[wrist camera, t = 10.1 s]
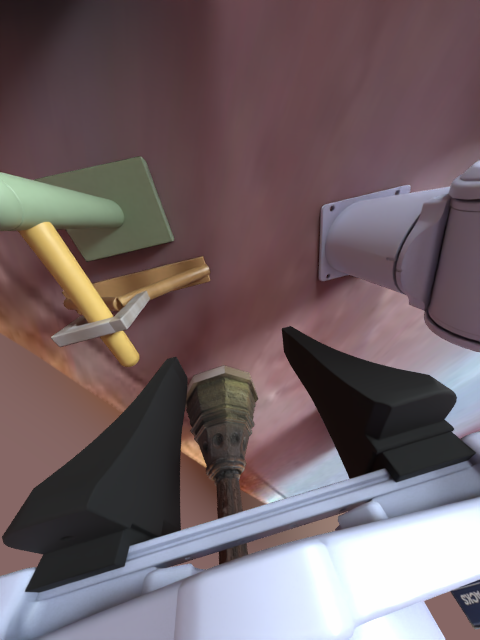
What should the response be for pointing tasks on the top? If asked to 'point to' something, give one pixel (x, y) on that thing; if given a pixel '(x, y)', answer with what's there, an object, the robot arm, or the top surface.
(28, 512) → the robot arm
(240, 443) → the bird statue
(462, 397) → the top surface
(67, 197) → the stand
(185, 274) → the hanger
